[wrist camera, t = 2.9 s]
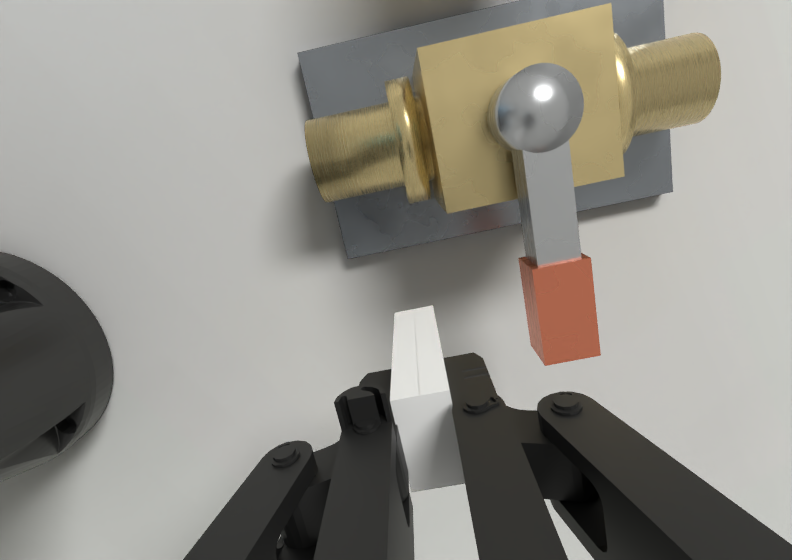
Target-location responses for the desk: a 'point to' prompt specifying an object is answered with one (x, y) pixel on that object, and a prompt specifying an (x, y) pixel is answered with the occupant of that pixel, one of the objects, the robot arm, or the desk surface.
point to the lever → (548, 208)
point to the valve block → (467, 114)
